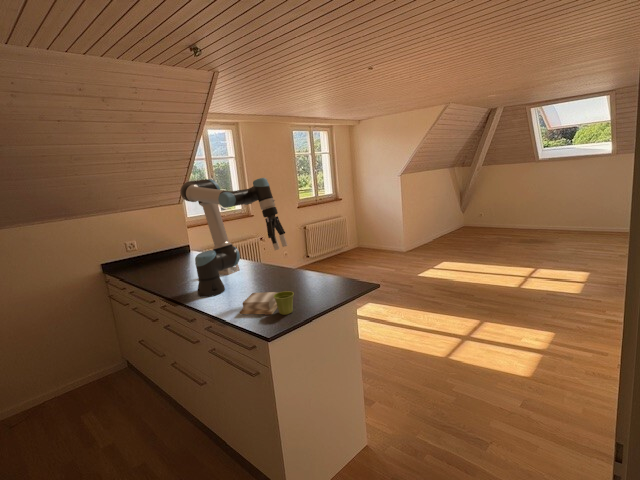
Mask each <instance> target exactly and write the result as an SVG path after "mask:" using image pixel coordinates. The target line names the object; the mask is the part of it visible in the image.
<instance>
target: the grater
mask: <svg viewBox="0 0 640 480" xmlns="http://www.w3.org/2000/svg"><path fill="white" fill-rule="evenodd" d="M239 271H240V266H239V263H238V264H237V265H235V266H233V267H231V268H227V269H225V270H222V271H219V275H224V276H225V275H226V276H230V275H232V274H235V273H237V272H239Z"/></svg>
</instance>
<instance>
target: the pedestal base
mask: <svg viewBox="0 0 640 480" xmlns="http://www.w3.org/2000/svg"><path fill="white" fill-rule="evenodd" d="M276 293H278V291H273V292H272V291H270V292H269V291H267V292H252V293H251V294H250V295H249V296H248V297H247V298H246V299H245V300H244V301H243V302H242V309H241V310H240V311H239V315H240V314H265V315H273V314H274V312H275V311H276V310H278V307H277V303H276V300H275V298H274V297H273V296H274V295H275V294H276Z"/></svg>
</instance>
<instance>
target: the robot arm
mask: <svg viewBox="0 0 640 480" xmlns="http://www.w3.org/2000/svg"><path fill="white" fill-rule="evenodd" d="M252 185H253V186H251V187H249V188H245V189H239V190H224V189H221V187H220V185H219V184H218V182H217V181H216V180H215V179H213V178H204V179H197V180H189V181H186V182H184V183H183V184H182V185H181V187H180V196H181V198H182V199H183V200H185V201H187V202H191V203H197V202H198V205H199V206H201V207H202V209H203V212H204V215H205V216H204V217H205V218H206V219H205V220H206V223H207V225H208V228H209V232H210V235H211V238H212V239H211V240H212V242H213V248H212V250H210V249H209V250H206V251H202V252H200V253H198V254H197V255H196V256H195V257H194V262H195V268H196V274H197V278H198V285H197V291H196V292H197V296H198V295H199V297H201V296H208V297H213V296H212V295H214V296H217V295H220V294H222V293H224V292H225V291H226V288H225V287H226V286H225V284H224V282H223V281H222V279H221V277H220V274H219V271H222V270H225V269H227V268H231V267H233V266H235V265H237V264H238V265H239V262H240V259H241V255H240V254H241V253H240V251H239V249H238V248H237V247H236V246H234V245H233V243H232V242H230V241H229V237H228V234H227V231H226V227H225V225H224V221H223V218H222V215H221V212H220V211H221V210H220V207H219V205H220V206H221V207H222V208H232V207H236V206H242V205H244V206H245V205H246V206H249V205H252V204H254V203H255V202H257V201H258V203H259V207H260V210H262V211H261V213H262V216H263V218H265V219H264V220H265V223H266V231H267V238H268V239H270V240H271V243H272V247H273V249H274V251H277V250H280V249H281V248H280V245H279V241H278V238H277V236H276V231H277V234H278V237H279V240H280V244H281V247H282V248H284V247H288V246H289V244H288V243H287V239H286V237H285V235H286V231H285V229H284V227H283V226H282V223H281V221H280V219H279V216H276V215H278V213H279V212H278V209H277V207H276V202H275V201H276V200H275V199H274V197H273V193H272V190H271V187H270V183H269V181H268V179H267V178H266V177H261V178H260V177H259V178H257V179H254V180H253V181H252ZM235 267H236V266H235Z"/></svg>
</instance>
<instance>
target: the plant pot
mask: <svg viewBox="0 0 640 480" xmlns="http://www.w3.org/2000/svg"><path fill="white" fill-rule="evenodd" d="M294 295H295V293H294V292H293V291H290V290H289V291H288V290H287V291H286V290H285V291H280V292H277V293H276V294H275V295H274V296H273V297H274V298H275V300H276V303H277V307H278V308H277V310H278V313H279V315H283V316H285V315H289V314H291V313H293V308H294V307H293V306H294V305H293V304H294V302H293V300H294Z"/></svg>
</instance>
